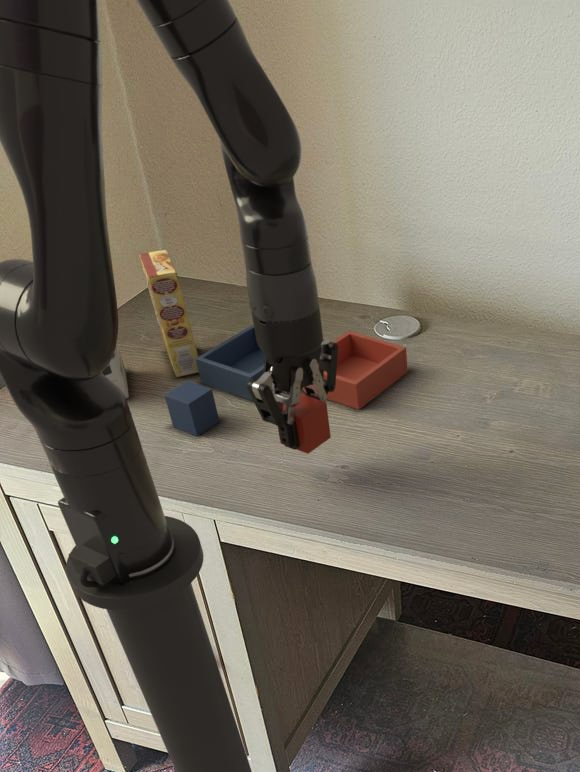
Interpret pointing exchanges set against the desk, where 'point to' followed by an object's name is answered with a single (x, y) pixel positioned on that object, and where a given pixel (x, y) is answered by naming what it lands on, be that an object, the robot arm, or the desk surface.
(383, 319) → the desk surface
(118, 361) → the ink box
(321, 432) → the red block
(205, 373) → the blue bin
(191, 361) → the candy box
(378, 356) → the red bin
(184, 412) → the blue block
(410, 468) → the desk surface
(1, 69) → the robot arm
